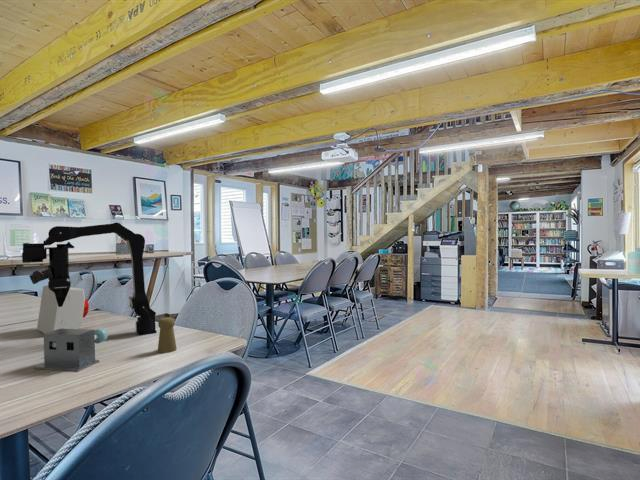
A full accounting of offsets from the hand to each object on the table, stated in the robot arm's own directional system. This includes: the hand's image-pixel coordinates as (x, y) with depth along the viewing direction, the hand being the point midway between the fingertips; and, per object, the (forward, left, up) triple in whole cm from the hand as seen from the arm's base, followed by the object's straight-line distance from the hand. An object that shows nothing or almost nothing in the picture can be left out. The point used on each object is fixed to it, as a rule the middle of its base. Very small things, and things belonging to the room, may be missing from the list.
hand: (60, 304), depth 134 cm
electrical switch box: (-2, -27, -15) cm, 31 cm away
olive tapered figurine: (-29, +30, -15) cm, 44 cm away
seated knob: (-1, +23, -10) cm, 25 cm away
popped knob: (-8, +24, -10) cm, 28 cm away
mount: (-2, +26, -15) cm, 30 cm away
